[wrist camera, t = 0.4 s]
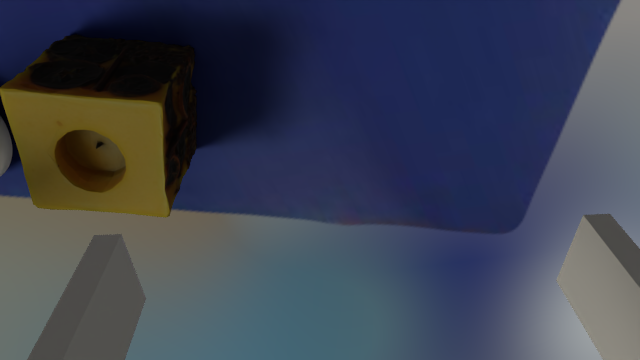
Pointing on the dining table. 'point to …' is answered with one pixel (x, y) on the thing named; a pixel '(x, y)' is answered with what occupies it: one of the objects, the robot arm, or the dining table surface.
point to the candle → (105, 124)
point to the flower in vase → (4, 147)
